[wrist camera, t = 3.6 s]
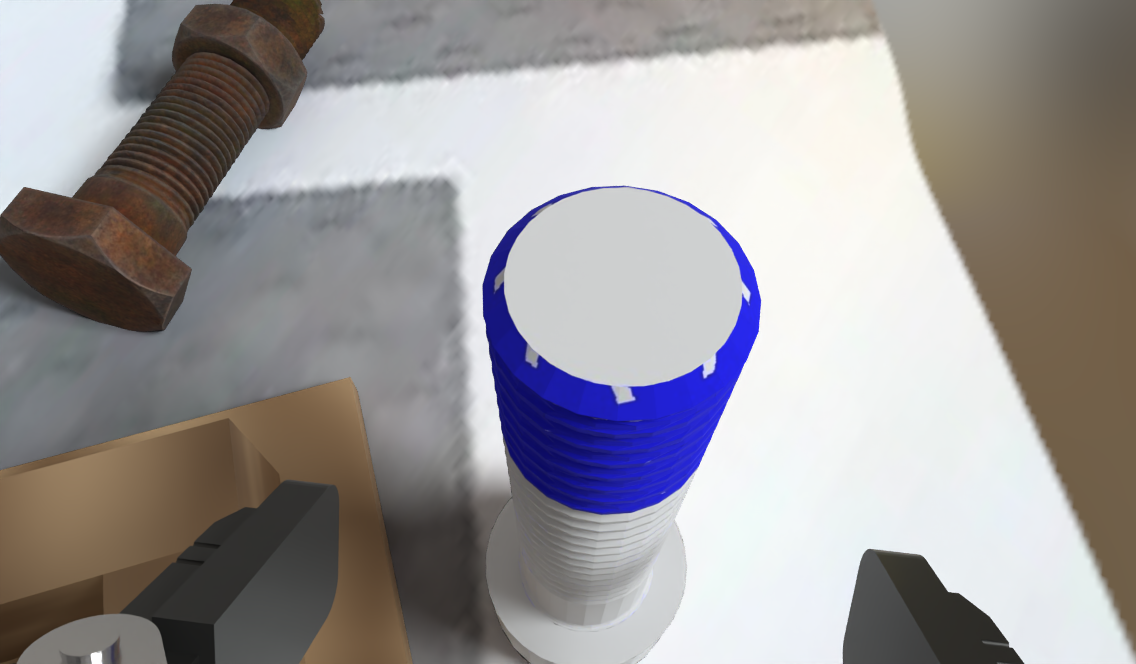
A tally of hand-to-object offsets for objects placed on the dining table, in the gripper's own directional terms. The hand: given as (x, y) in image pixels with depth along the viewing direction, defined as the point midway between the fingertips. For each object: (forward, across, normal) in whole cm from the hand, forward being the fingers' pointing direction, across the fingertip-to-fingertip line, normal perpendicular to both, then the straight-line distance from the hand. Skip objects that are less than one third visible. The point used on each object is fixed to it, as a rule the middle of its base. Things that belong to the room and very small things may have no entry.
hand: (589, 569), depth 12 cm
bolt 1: (+19, +15, -4) cm, 25 cm away
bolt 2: (+9, 0, +6) cm, 11 cm away
